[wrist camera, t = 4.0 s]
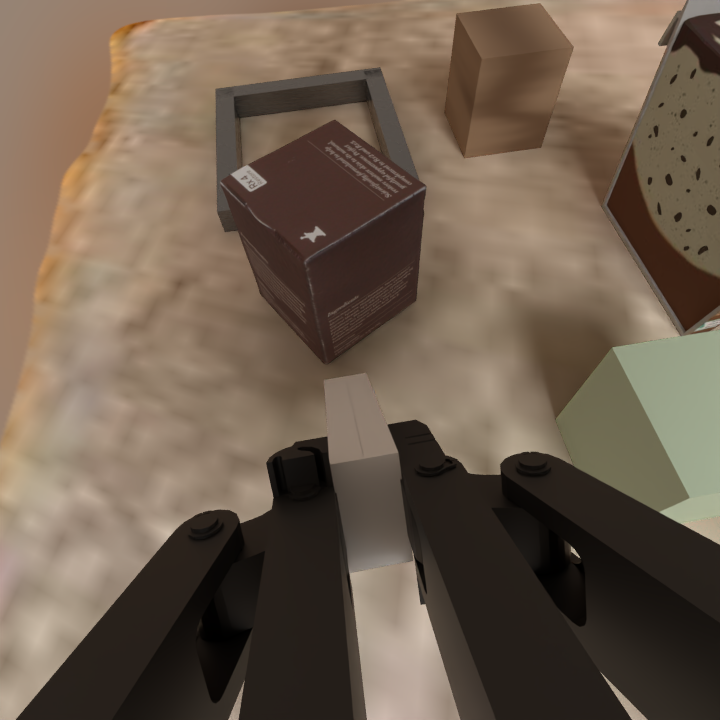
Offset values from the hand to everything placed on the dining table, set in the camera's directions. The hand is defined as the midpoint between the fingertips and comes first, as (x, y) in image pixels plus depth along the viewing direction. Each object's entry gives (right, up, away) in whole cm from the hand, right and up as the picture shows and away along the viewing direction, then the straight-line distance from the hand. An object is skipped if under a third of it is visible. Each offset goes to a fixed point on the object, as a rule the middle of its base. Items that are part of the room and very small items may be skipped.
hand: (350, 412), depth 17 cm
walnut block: (+9, +17, +15) cm, 24 cm away
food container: (+18, +7, +9) cm, 21 cm away
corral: (-3, +15, +14) cm, 21 cm away
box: (-1, +5, +8) cm, 10 cm away
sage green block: (+12, -3, +3) cm, 12 cm away
